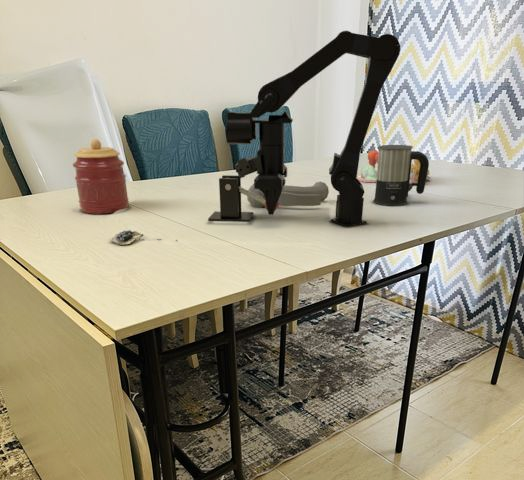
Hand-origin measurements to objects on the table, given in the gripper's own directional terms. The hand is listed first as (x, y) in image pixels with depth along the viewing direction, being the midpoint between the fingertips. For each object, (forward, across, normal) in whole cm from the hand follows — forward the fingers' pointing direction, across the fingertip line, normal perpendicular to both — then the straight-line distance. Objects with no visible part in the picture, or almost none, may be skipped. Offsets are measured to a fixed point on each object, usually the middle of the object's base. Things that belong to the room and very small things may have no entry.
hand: (271, 212), depth 126 cm
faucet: (+2, -22, +3) cm, 22 cm away
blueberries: (-1, +22, -28) cm, 36 cm away
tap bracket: (+2, 0, -10) cm, 10 cm away
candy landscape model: (+2, -61, +36) cm, 71 cm away
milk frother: (+2, -28, +32) cm, 43 cm away
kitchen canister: (+2, -9, -46) cm, 47 cm away
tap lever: (-3, 0, -6) cm, 6 cm away
